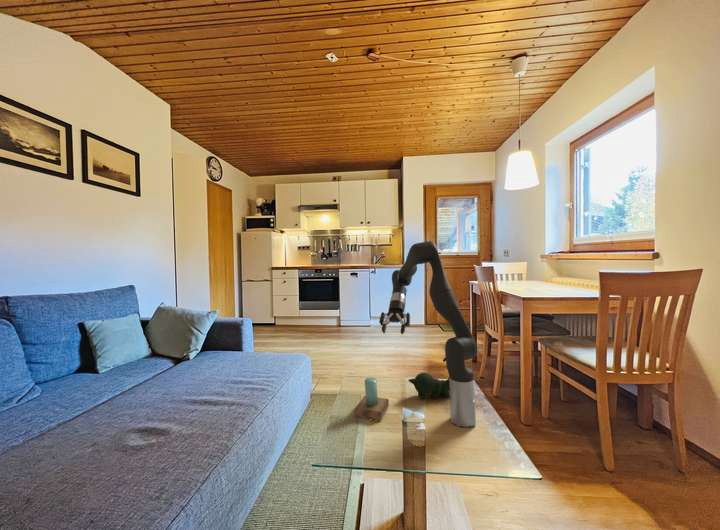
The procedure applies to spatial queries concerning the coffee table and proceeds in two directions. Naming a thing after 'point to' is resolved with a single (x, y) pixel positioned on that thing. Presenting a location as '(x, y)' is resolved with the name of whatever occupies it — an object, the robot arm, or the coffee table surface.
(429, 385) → the toy figurine
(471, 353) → the robot arm
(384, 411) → the walnut plinth
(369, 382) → the teal cylinder
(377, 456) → the coffee table surface
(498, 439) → the coffee table surface
